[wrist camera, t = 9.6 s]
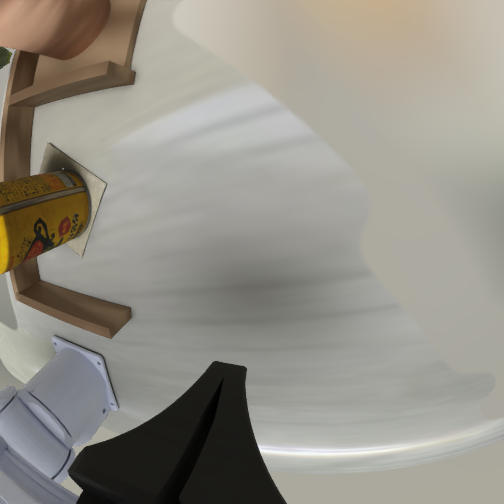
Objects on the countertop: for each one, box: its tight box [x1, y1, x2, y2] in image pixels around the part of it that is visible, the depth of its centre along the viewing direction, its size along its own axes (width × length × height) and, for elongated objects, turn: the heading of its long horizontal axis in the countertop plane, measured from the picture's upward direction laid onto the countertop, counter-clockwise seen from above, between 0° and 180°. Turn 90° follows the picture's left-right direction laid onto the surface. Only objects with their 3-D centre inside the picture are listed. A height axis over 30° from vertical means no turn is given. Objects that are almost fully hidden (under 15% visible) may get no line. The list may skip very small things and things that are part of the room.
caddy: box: [0, 0, 146, 339], centre depth 13 cm, size 33×14×10 cm, turn 174°
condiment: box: [0, 142, 106, 274], centre depth 14 cm, size 7×8×12 cm
